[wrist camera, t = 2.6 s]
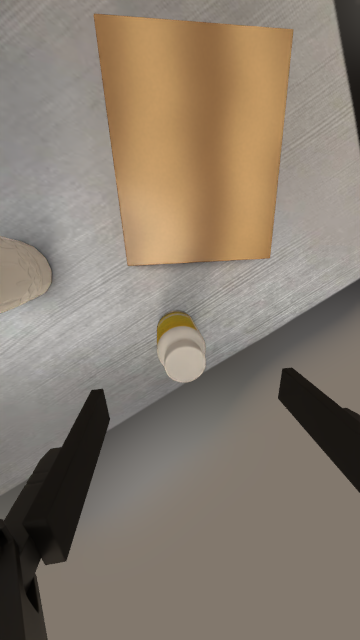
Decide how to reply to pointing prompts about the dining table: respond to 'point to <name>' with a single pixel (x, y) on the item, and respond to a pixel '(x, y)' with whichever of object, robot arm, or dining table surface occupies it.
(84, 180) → the dining table surface
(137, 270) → the dining table surface
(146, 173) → the maple riser
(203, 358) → the supplement bottle
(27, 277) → the white cup
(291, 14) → the dining table surface
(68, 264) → the dining table surface
